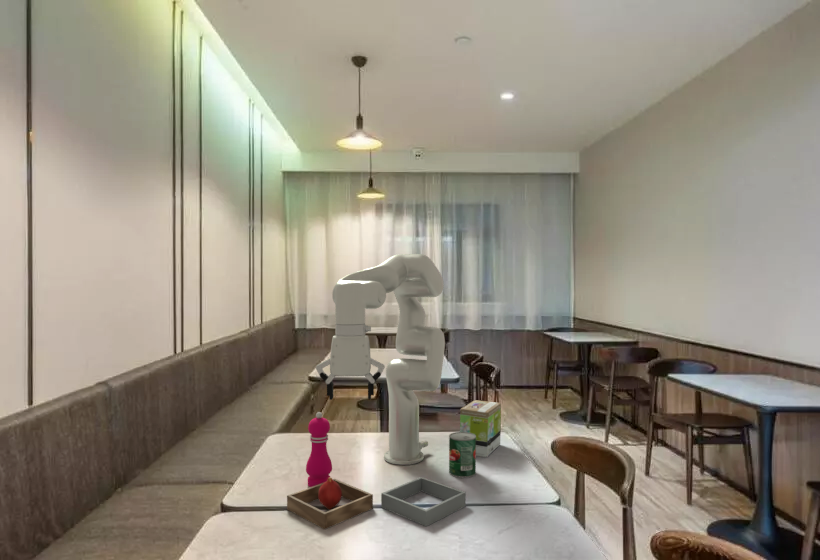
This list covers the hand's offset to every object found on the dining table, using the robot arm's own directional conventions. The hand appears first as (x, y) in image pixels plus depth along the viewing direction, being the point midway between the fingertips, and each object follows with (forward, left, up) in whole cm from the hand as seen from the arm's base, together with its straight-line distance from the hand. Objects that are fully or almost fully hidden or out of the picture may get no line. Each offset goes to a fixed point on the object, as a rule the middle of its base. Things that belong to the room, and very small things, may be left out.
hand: (350, 398), depth 135 cm
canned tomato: (-37, +7, -27) cm, 46 cm away
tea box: (-58, -2, -27) cm, 64 cm away
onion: (+5, -2, -27) cm, 28 cm away
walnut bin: (+5, -2, -27) cm, 28 cm away
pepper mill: (-3, -17, -27) cm, 32 cm away
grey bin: (-12, +14, -27) cm, 33 cm away
